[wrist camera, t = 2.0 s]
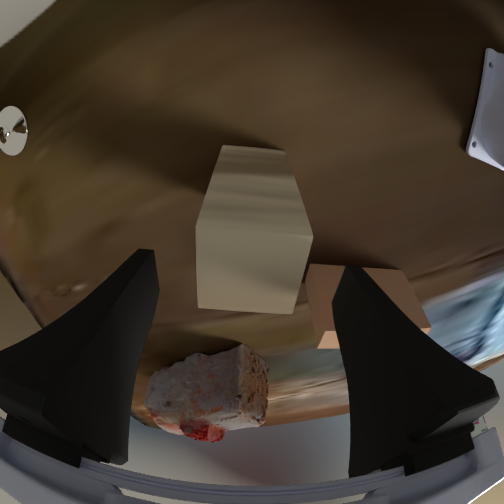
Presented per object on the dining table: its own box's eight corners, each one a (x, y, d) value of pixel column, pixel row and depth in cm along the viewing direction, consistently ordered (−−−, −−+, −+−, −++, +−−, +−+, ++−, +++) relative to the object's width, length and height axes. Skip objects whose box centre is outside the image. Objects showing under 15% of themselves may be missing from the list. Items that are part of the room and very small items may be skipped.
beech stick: (222, 144, 18) (195, 226, 10) (284, 150, 18) (313, 236, 10) (219, 199, 20) (198, 307, 12) (276, 204, 20) (292, 314, 12)
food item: (188, 388, 37) (180, 451, 29) (147, 361, 33) (132, 431, 25) (273, 365, 33) (276, 441, 25) (236, 332, 29) (232, 422, 21)
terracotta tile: (309, 263, 23) (325, 330, 18) (401, 269, 24) (431, 327, 18) (304, 283, 25) (316, 350, 19) (392, 287, 25) (418, 345, 20)
